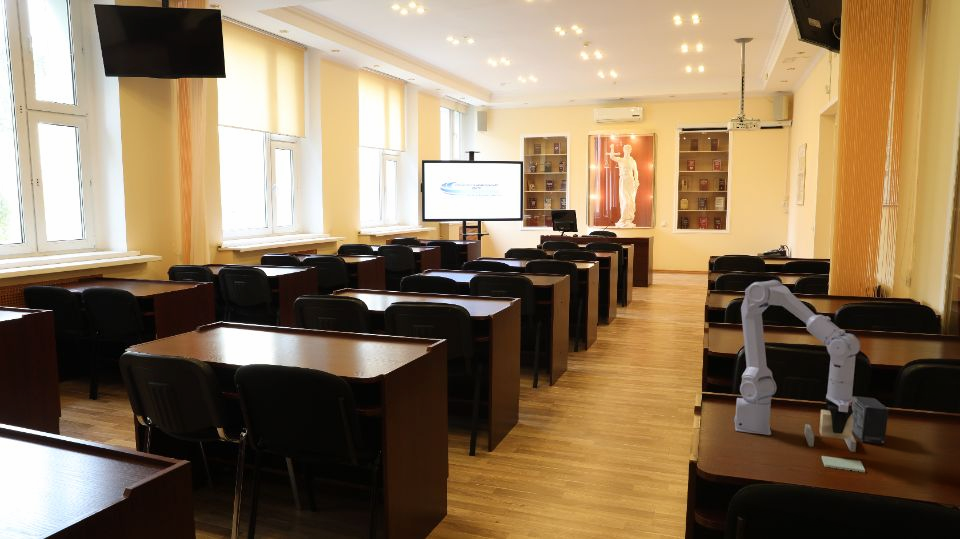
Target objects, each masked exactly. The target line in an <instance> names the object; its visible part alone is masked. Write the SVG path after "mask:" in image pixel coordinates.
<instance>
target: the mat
mask: <svg viewBox="0 0 960 539" xmlns="http://www.w3.org/2000/svg"><path fill="white" fill-rule="evenodd" d="M821 460H822V463H823V465H824V467H825V468H829V467H830V468H831V469H836V468H837V470H843V469H844V471H850V470H852V471H851V472H858V471H859V473H866V469H865V467H864V465H863V463H862V461H860V460H855V459H848V458H839V457H832V456H827V455H826V456H825V455H821Z"/></svg>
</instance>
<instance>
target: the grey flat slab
mask: <svg viewBox="0 0 960 539" xmlns="http://www.w3.org/2000/svg"><path fill="white" fill-rule="evenodd" d="M804 436H805V440H806V443H807V445H808V447H814V446H815V445H814V444H815V435H814V432H813V430H812V427H811V425H810V424H804ZM843 440H844V441H845V444H846V445H847V446H846V447H848V450H849V452H852V453H856V448H857V441H856V439H855V437H854V434H852V435H851V440H848V439H843Z"/></svg>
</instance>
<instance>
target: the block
mask: <svg viewBox="0 0 960 539" xmlns="http://www.w3.org/2000/svg"><path fill="white" fill-rule="evenodd" d="M819 418H820V419H819V420H820V421H819V428H818V429H819V430H818V431H819V435H820V436H821V437H826V438H834V439H840V440H841V439H842V440H844V439H848V440H851V435H853V433H852V425H853V417H852V415H851V416H850V417H849V419H848V420H847V423H846V425H845V428H844V431H843V433H842V434H839V433H834V432H833V428H832V417H831V413H830V411H829V410H828V409H827V410H826V409H820V417H819Z"/></svg>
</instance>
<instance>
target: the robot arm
mask: <svg viewBox="0 0 960 539" xmlns="http://www.w3.org/2000/svg"><path fill="white" fill-rule="evenodd" d="M744 293H745V294H744V298H743V301H742V304H741V307H740V312H741V321H742V323H741V324H742V331H743V332H742V333H743V343H744V345H743V346H744V354H745V362H746V364H745V365H746V368H745V370H744V372H743V373H742V375H741V384H740V385H739V392H740V395H741V396H742V397H737V398H736V404H735V416H734V419H733V420H734V421H733V422H734V426H735V431H736V432H742V433H752V434H758V435H759V434H760V435H766V436H771V435H772V431H771V427H770V418H771V417H770V416H771V405H772V404H771V402H772V396H774V394H776V392H777V384H776V382H775V380H774V378H773V372H772V370H771V369H770V368H769V367H768V366H767V357H766V356H767V355H766V344H765V335H764V324H763V315H762V314H763V312H765V310H767V309H768V307H770V306H771V305H772V306H778V307H779V306H780V307H783V308H785V310H787V311H788V312H790V313H791V314H793V315H794V316H795V317H796V318H798V319H799V320H801V321H802V322H803V323H804V324H805V325H806V331H807V332H809V334H811V335H812V336H813V337H814V338H816V339H817V340H818V341H819V342H820V343H822V344H823V345H824V346H825V347H826V351H827V352H828V354H829V357H830V361H829V372H828V380H827V381H828V382H827V393H826V395H825V399H824V401H825V404H826V407H827V410H829V411H830V413H831V417H832V428H833V432H834V433H839V434H842V433H843V431H844V428H845V425H846V423H847V420H848V419H849V417H850V416H851V415H852V413H853V410H852V408H849V405H851V404H852V402H857V399H856V397H853V390H854V389H853V388H854V378H855V376H854V375H855V367H856V355H857V354H858V353H859V352H860V350H861V342H860V340H859V339H858V338H857V337H856V335H855V334H854V333H853V334H852V333H846V330H845V329H843V328H842V329H841V328H840V327H838V326H837V324H835V323H834V322H832V321H831V320H832V319H831V317H830V316H828V315H827V316H825V315H823V314H815V313H814V312H813V311H812V310H811V309H810V308H808V306H806V305H805V304H804V303H803V302H802V301H801V300H800V299H799V298H798V297H797V296H795V294H793V293H792V292H791V291H790V289H789V288H788V287H787V286H785V285H783V284H782V282H781V281H779V280H777V279H772V280H767V281H755V282H753V283H751V284H750V285H749V286H747V287H746V288H745V290H744Z"/></svg>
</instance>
